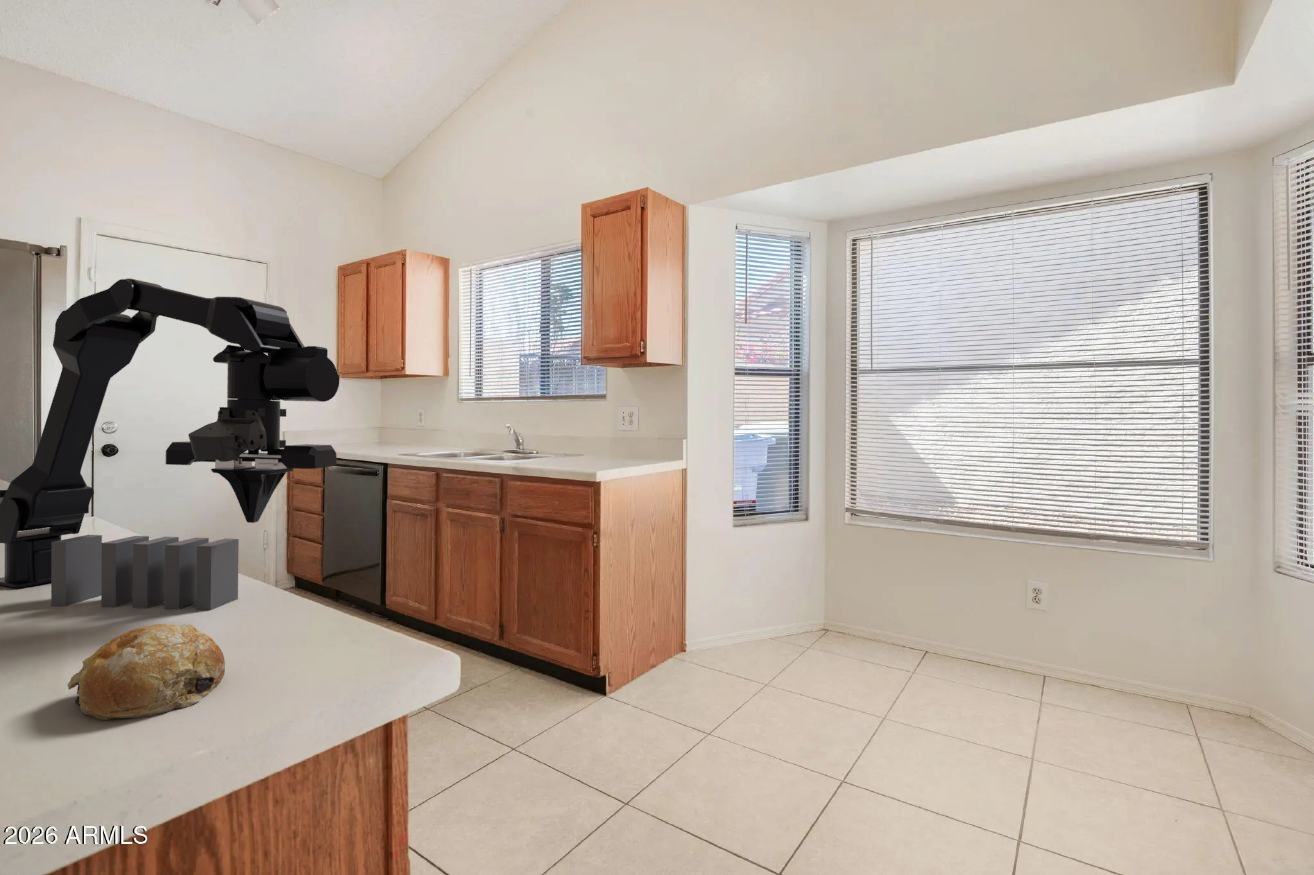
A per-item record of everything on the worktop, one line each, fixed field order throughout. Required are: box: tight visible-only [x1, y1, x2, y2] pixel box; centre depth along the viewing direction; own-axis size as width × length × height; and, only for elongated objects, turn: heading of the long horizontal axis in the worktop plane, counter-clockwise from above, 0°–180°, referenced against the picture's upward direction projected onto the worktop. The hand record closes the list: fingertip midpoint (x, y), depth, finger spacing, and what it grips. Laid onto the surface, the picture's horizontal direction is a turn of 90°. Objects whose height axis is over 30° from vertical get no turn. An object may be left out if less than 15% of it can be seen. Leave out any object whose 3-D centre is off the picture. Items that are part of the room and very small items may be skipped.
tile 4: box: [164, 537, 210, 610], centre depth 81 cm, size 2×5×8 cm, turn 179°
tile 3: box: [132, 536, 180, 609], centre depth 81 cm, size 2×5×8 cm, turn 179°
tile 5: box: [195, 537, 240, 611], centre depth 81 cm, size 2×5×8 cm, turn 179°
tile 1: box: [50, 534, 103, 607], centre depth 81 cm, size 2×5×8 cm, turn 179°
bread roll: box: [67, 623, 226, 721], centre depth 55 cm, size 10×10×8 cm
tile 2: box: [100, 535, 150, 608], centre depth 81 cm, size 2×5×8 cm, turn 179°
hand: (252, 522), depth 81 cm, fingers closed
